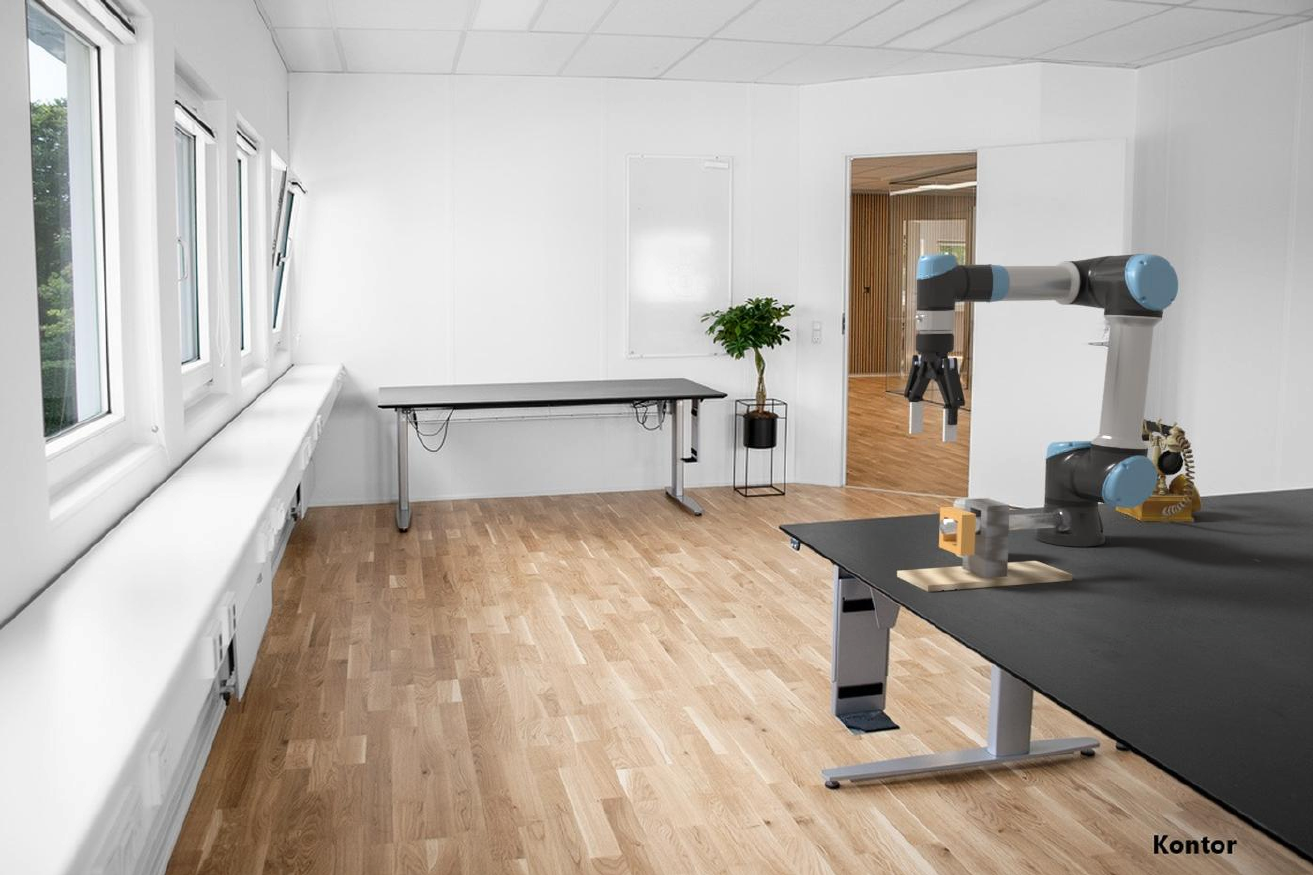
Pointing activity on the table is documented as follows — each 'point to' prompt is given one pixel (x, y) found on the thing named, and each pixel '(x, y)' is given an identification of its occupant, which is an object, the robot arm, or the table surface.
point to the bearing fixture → (985, 558)
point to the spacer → (959, 531)
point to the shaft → (1021, 522)
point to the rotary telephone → (1181, 489)
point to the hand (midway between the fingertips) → (932, 437)
